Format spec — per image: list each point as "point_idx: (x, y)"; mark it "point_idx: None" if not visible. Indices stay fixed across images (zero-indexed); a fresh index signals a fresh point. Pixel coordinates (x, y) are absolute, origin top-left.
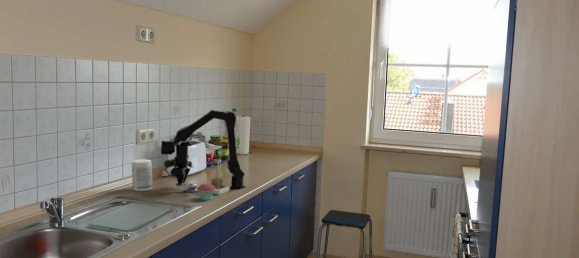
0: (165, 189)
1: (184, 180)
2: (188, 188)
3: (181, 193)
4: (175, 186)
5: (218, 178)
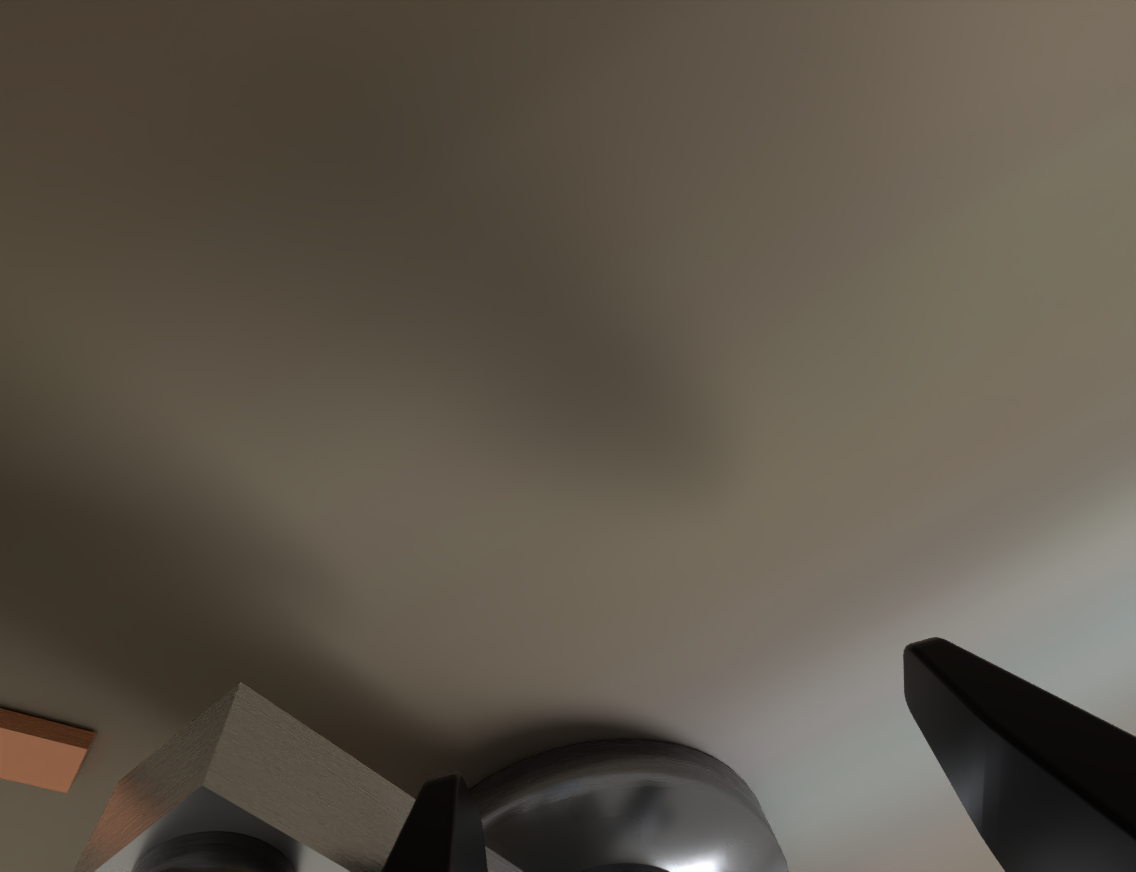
0: (409, 23)
1: (970, 804)
2: (616, 839)
3: None
4: (103, 841)
5: None
